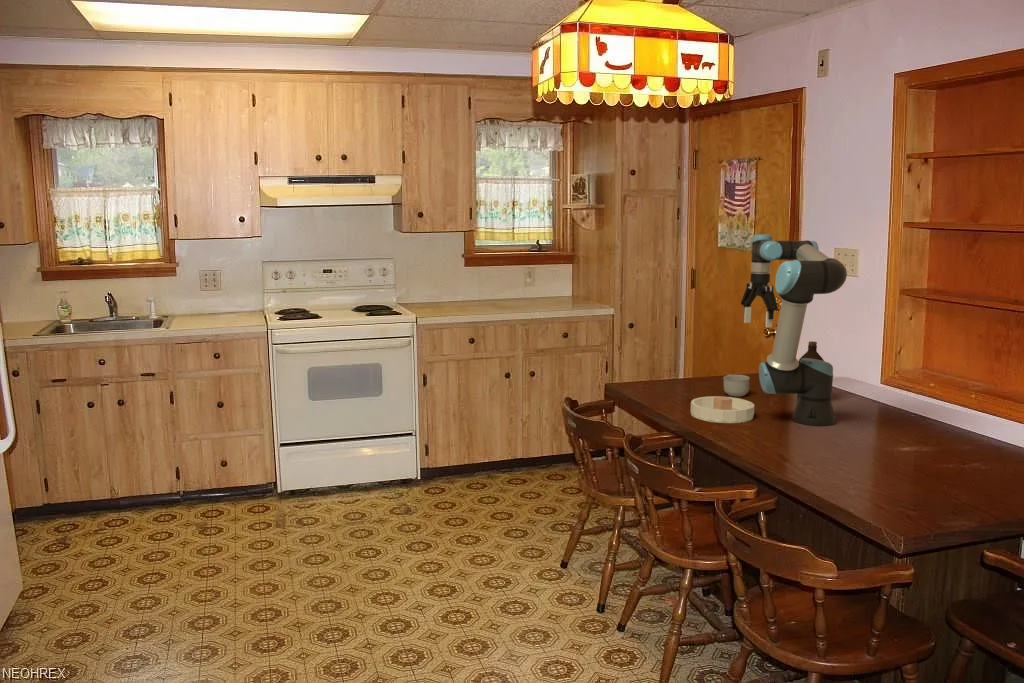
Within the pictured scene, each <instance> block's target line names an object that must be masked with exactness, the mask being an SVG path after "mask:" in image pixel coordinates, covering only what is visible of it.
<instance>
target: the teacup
mask: <svg viewBox="0 0 1024 683" xmlns="http://www.w3.org/2000/svg"><path fill="white" fill-rule="evenodd" d="M722 379H723V391H724V392H725V394H727V395H728V397H733V396H734V397H733V398H741V397H744V396H745V395H747V394H748V393H749V390H750V379H751V378H750V376H748V375H745V374H727V375H724V376H723V377H722Z"/></svg>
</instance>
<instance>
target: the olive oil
mask: <svg viewBox="0 0 1024 683" xmlns="http://www.w3.org/2000/svg"><path fill="white" fill-rule="evenodd" d="M817 344H818V342H817V341H808V344H807V351H806V352H805V353H804V354H803V355H802V356H801V357H800V358H799V359H798V361H799V363H800V361H801V359H802V358H810V359H817V360H821V361H825V360H824V359H823V357H822V355H820V353H819V352H818V351H817V348H818V346H817ZM796 396H797V398H796V401H797V402H798V399H799V394H796Z"/></svg>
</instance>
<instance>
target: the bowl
mask: <svg viewBox="0 0 1024 683" xmlns="http://www.w3.org/2000/svg"><path fill="white" fill-rule="evenodd" d="M714 397H723V396H714V395H713V396H701V397H696V398H693V399H692V400H691V401H690V415H691V416H692V417H693V418H695V419H698V420H701V421H703V422H709V423H718V424H740V423H741V422H742V423H747V422H750V421H752V420H753V419H754V415H755V404H754V403H753V402H752V401H750V400H746V399H743V398H740V397H733V396H727V397H728V398H730V399H732V410H719V409H713V400H714Z"/></svg>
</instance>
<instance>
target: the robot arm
mask: <svg viewBox="0 0 1024 683" xmlns="http://www.w3.org/2000/svg"><path fill="white" fill-rule="evenodd" d="M772 237H773V236H772V235H771V234H766V233H764V234H762V233H757V234H754V235H753V236H752V242H751V258H750V259H751V262H750V263H751V264H750V272H751V273H750V283H747V282H746V288H745V290H744V293H743V296H742V298H741V301H740V305H742V306H743V317H744V318H743V320H744V321H743V323H744V324H750V323H751V321H752V319H751V318H752V303H753V302H754V300H755V299H756V297H760V298H761V299H762V301H763V304H765V307H766V311H765V312H766V313H765V328H773V320H774V314H775V313H774V312H775V311H778V309H779V307H778V303H777V301H776V296H775V293H774V286H775V291H776V293H777V294H778V296H779V298H780V299H781V300H782V301H781V304H780V310H779V315H778V320H777V324H776V325H777V326H776V330H775V335H774V342H773V346H772V351H771V353H770V354H768V355H767V357H766V361H764V362H761V363H759V366H758V378H759V384H760V387H761V389H762V391H763V392H764V393H765V394H767V395H768V394H769V395H770V394H772V395H780V394H781V395H789V394H791V395H797V394H799V399H798V401H797V403H796V405H795V408H794V410H793V413H792V421H794V422H796V423H799V424H802V425H808V426H817V427H818V426H831V425H834V424H836V423H835V422H836V415H835V413H834V412H835V411H834V408H833V404H832V394H833V382H834V380H833V379H834V366H833V365H832V364H831V363H830V362H827V361H825V360H824V361H821V360H817V359H810V358H802V359H801V361H800V363H799V359H797V355H798V349H799V345H800V341H801V335H802V330H803V325H804V321H805V317H806V311H807V307H808V304H811V303H812V302H813V301H814V295H828V294H832V293H834V292H836V291H838V290H839V289H840V288H842V287H843V285H844V284H845V282H846V280H847V276H848V272H847V268H846V266H845V265H844V264H843V263H842V262H841V261H840V260H838V259H837V258H834V257H833V258H832V257H829V256H827V255H826V254H825V253H823V252H822V251H821V250H819V245H818V243H817V241H815V240H807V239H806V240H773V238H772ZM773 261H783V262H782V263H781V264H780V265H779V266H778V268H777V271H776V274H775V279H774V280H775V284H774V286H773V285H768V284H769V283H770V281H771V274H770V272H771V263H772V262H773Z"/></svg>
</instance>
